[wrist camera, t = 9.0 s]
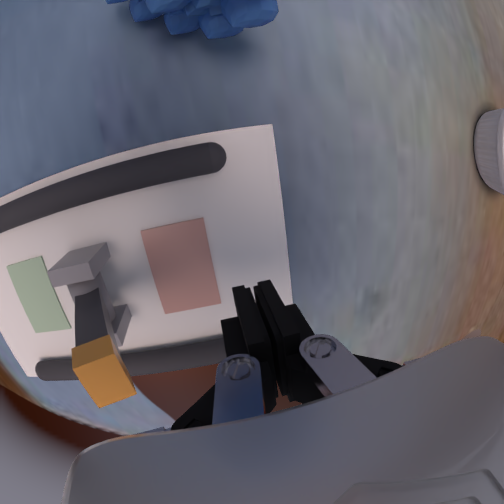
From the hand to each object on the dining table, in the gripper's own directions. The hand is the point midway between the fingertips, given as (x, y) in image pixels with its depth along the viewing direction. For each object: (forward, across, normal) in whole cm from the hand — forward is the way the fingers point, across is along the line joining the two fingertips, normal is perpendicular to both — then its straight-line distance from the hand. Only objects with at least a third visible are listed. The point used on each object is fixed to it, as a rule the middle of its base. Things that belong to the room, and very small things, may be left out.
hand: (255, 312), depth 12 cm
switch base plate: (+10, +10, 0) cm, 14 cm away
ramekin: (+10, -32, -6) cm, 35 cm away
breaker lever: (+6, +10, 0) cm, 12 cm away
